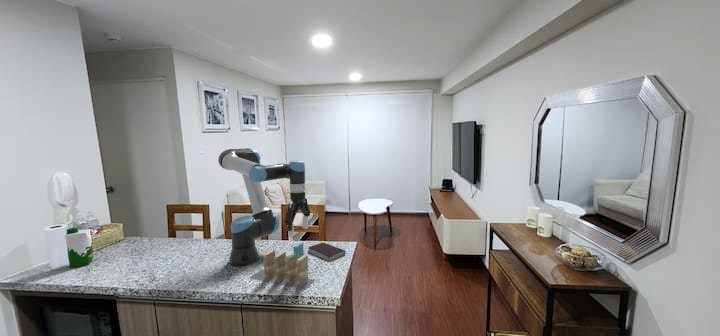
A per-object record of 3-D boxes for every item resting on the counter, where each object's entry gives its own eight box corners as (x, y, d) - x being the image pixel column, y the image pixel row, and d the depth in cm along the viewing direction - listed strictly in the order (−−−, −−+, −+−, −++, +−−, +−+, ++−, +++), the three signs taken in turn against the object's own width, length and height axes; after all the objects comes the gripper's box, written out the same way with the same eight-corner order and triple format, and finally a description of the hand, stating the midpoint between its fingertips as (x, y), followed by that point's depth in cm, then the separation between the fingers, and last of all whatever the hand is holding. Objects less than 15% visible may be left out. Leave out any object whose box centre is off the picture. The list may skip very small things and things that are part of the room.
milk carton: (73, 263, 151) (69, 227, 149) (95, 259, 156) (91, 224, 154) (66, 269, 144) (62, 231, 142) (90, 265, 148) (86, 228, 146)
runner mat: (248, 278, 132) (248, 277, 132) (261, 270, 141) (261, 269, 141) (305, 290, 122) (305, 289, 122) (315, 280, 130) (315, 279, 130)
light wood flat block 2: (286, 283, 127) (285, 258, 126) (293, 277, 132) (292, 253, 131) (289, 284, 126) (288, 259, 125) (297, 278, 132) (296, 253, 130)
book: (323, 246, 173) (323, 241, 173) (345, 254, 160) (345, 249, 160) (307, 252, 164) (307, 247, 163) (329, 262, 151) (329, 256, 150)
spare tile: (294, 269, 142) (293, 246, 140) (300, 264, 147) (299, 242, 146) (297, 270, 141) (296, 247, 140) (303, 265, 147) (303, 243, 145)
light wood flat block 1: (264, 279, 131) (263, 254, 130) (272, 273, 137) (271, 249, 135) (268, 279, 130) (267, 255, 129) (276, 274, 136) (275, 250, 135)
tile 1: (297, 285, 125) (296, 260, 124) (304, 279, 130) (303, 255, 129) (301, 286, 124) (300, 260, 123) (308, 280, 130) (307, 255, 128)
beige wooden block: (275, 281, 129) (274, 256, 128) (283, 275, 134) (282, 251, 133) (278, 282, 128) (277, 257, 127) (286, 276, 134) (285, 252, 133)
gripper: (290, 196, 127) (291, 241, 130) (316, 187, 151) (316, 225, 153) (276, 195, 130) (277, 239, 132) (304, 187, 153) (304, 224, 155)
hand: (298, 232), depth 143 cm, fingers open, 13 cm apart
